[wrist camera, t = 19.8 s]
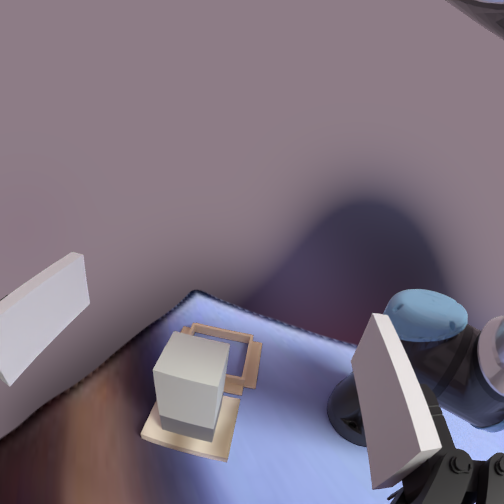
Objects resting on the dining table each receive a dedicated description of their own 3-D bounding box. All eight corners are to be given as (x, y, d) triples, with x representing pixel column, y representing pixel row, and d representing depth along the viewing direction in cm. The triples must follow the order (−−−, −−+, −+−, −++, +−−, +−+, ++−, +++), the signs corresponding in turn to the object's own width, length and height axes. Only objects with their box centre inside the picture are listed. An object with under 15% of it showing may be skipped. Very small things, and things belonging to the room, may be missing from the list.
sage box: (221, 405, 37) (230, 343, 32) (212, 442, 30) (218, 387, 25) (176, 394, 37) (174, 330, 32) (162, 429, 31) (152, 369, 26)
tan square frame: (262, 337, 56) (264, 331, 55) (253, 397, 41) (255, 391, 40) (186, 321, 56) (187, 314, 56) (158, 375, 41) (157, 368, 41)
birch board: (239, 404, 39) (240, 399, 38) (226, 462, 29) (227, 458, 28) (166, 386, 40) (165, 380, 39) (142, 438, 29) (140, 433, 29)
